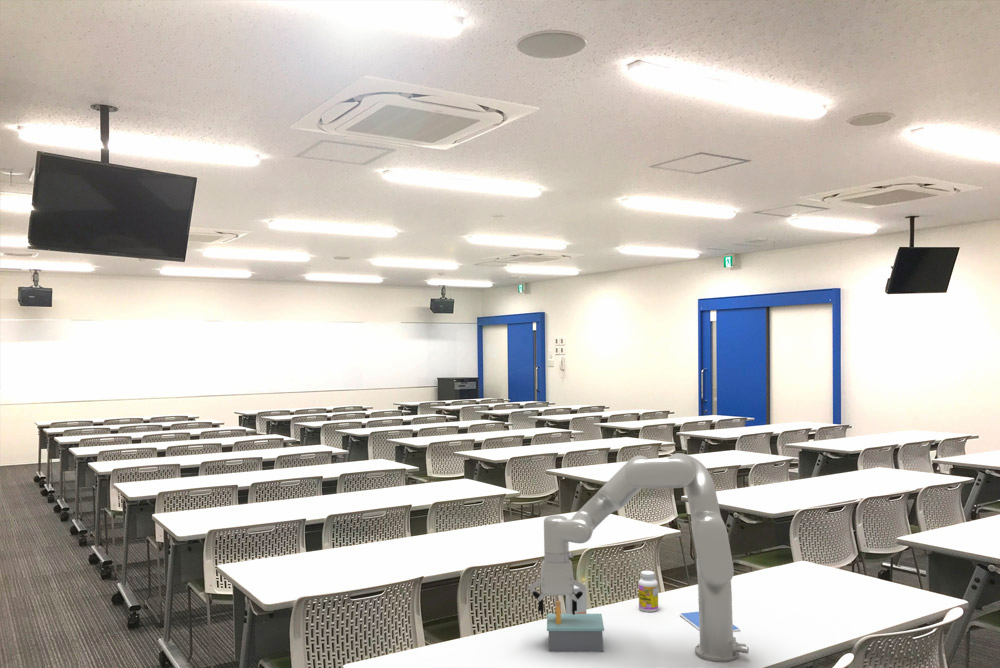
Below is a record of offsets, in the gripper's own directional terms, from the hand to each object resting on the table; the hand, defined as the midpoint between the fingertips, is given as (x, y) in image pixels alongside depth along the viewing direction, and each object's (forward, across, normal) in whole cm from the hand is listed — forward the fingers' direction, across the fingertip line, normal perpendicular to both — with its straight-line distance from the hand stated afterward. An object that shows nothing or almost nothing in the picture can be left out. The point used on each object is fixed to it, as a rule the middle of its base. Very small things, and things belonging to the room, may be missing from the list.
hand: (557, 613), depth 233 cm
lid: (+3, -5, 0) cm, 6 cm away
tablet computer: (+11, -49, -21) cm, 55 cm away
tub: (+10, -5, 0) cm, 11 cm away
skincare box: (+10, -6, -22) cm, 25 cm away
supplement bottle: (+10, -31, -34) cm, 48 cm away
